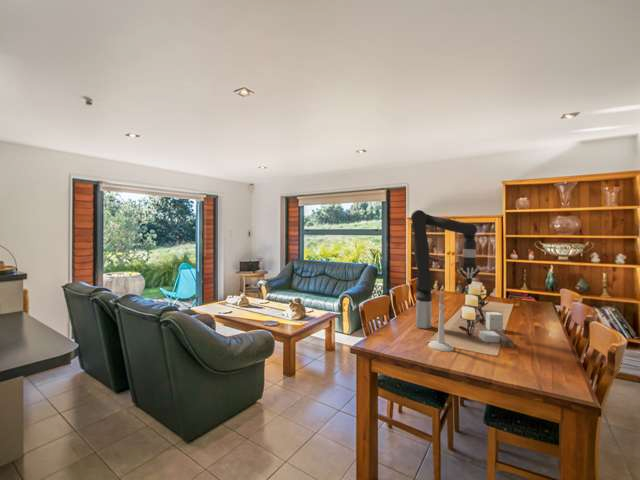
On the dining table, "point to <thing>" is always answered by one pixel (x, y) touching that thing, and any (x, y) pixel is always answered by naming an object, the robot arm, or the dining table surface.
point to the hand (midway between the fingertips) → (468, 284)
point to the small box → (494, 321)
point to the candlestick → (441, 331)
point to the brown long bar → (503, 338)
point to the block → (489, 336)
